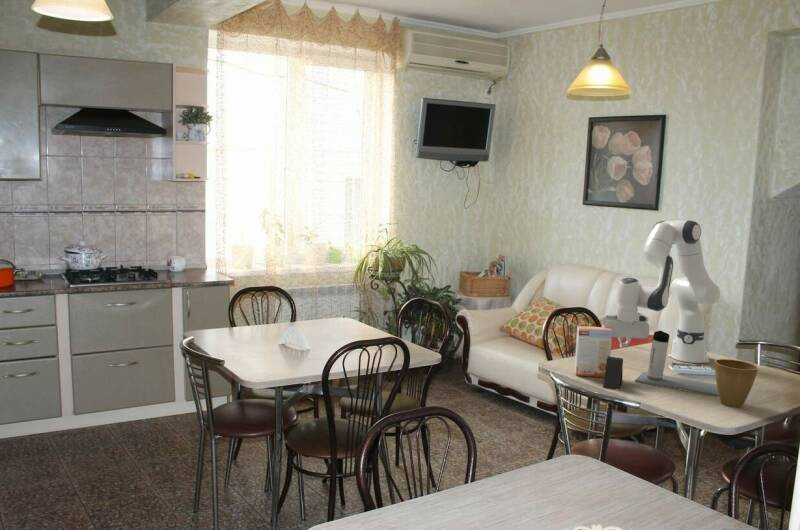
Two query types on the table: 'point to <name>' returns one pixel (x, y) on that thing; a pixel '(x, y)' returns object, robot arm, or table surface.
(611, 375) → the door stopper
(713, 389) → the rubber mat
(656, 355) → the travel mug
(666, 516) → the table surface
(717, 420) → the table surface
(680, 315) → the robot arm
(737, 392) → the plant pot
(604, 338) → the cracker box
